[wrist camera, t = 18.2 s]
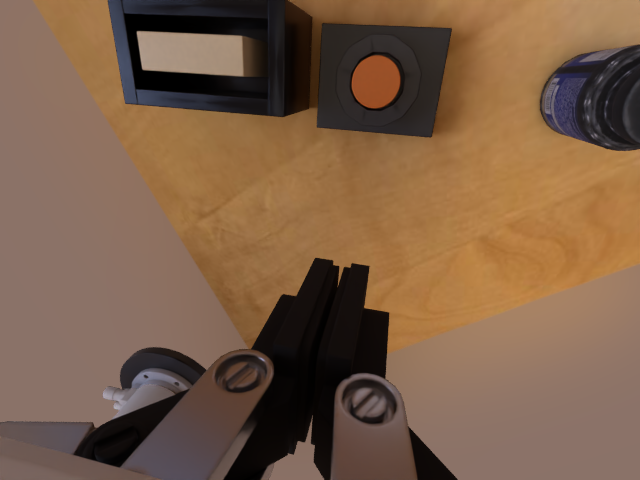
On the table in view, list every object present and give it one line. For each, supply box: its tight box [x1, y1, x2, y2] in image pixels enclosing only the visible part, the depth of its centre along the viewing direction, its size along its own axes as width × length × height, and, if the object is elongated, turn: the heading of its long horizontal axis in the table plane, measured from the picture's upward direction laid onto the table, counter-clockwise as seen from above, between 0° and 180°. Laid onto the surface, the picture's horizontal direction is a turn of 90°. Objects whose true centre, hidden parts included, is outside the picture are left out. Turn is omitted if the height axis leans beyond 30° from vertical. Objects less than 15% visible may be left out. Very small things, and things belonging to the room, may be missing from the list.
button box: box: [317, 23, 452, 137], centre depth 29 cm, size 10×8×4 cm
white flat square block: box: [137, 31, 269, 77], centre depth 28 cm, size 2×8×8 cm, turn 87°
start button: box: [352, 55, 401, 108], centre depth 27 cm, size 4×4×2 cm
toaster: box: [108, 0, 312, 117], centre depth 29 cm, size 13×7×8 cm, turn 87°
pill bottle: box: [540, 45, 640, 151], centre depth 23 cm, size 6×6×11 cm
